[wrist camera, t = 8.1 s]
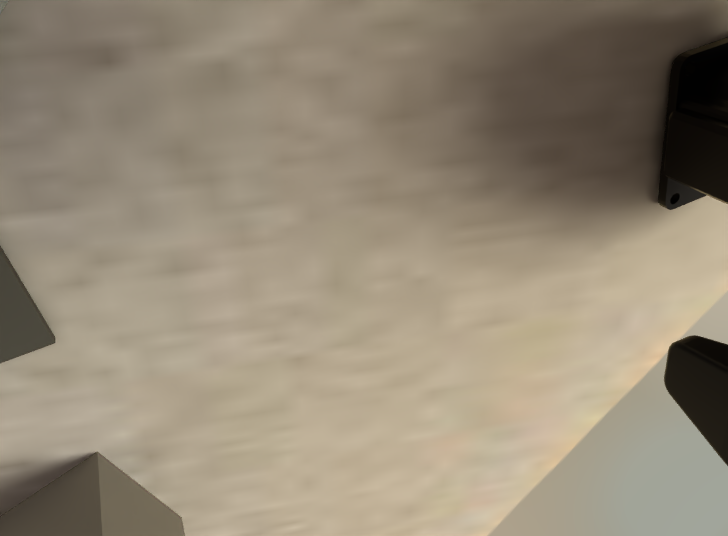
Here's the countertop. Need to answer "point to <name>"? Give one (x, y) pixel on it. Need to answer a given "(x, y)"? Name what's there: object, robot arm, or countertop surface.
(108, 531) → the grey cube
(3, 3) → the base block
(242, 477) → the countertop surface
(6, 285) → the mat
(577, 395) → the countertop surface
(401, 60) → the countertop surface
